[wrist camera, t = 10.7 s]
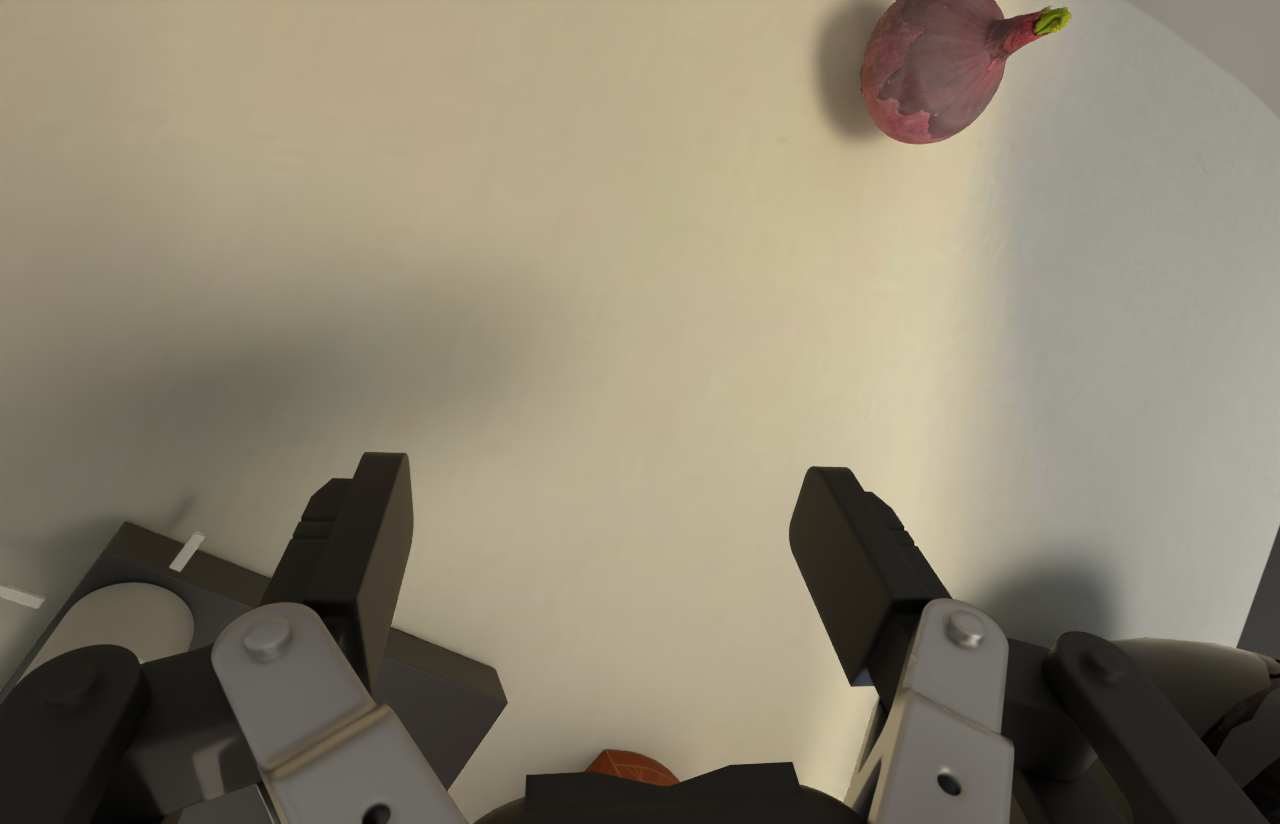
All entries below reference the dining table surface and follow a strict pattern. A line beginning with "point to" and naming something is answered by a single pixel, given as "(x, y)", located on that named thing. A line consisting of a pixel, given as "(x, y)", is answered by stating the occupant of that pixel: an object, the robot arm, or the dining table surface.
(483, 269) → the dining table surface
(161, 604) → the burner knob
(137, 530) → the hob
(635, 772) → the book
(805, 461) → the dining table surface
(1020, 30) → the vegetable
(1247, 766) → the ball
